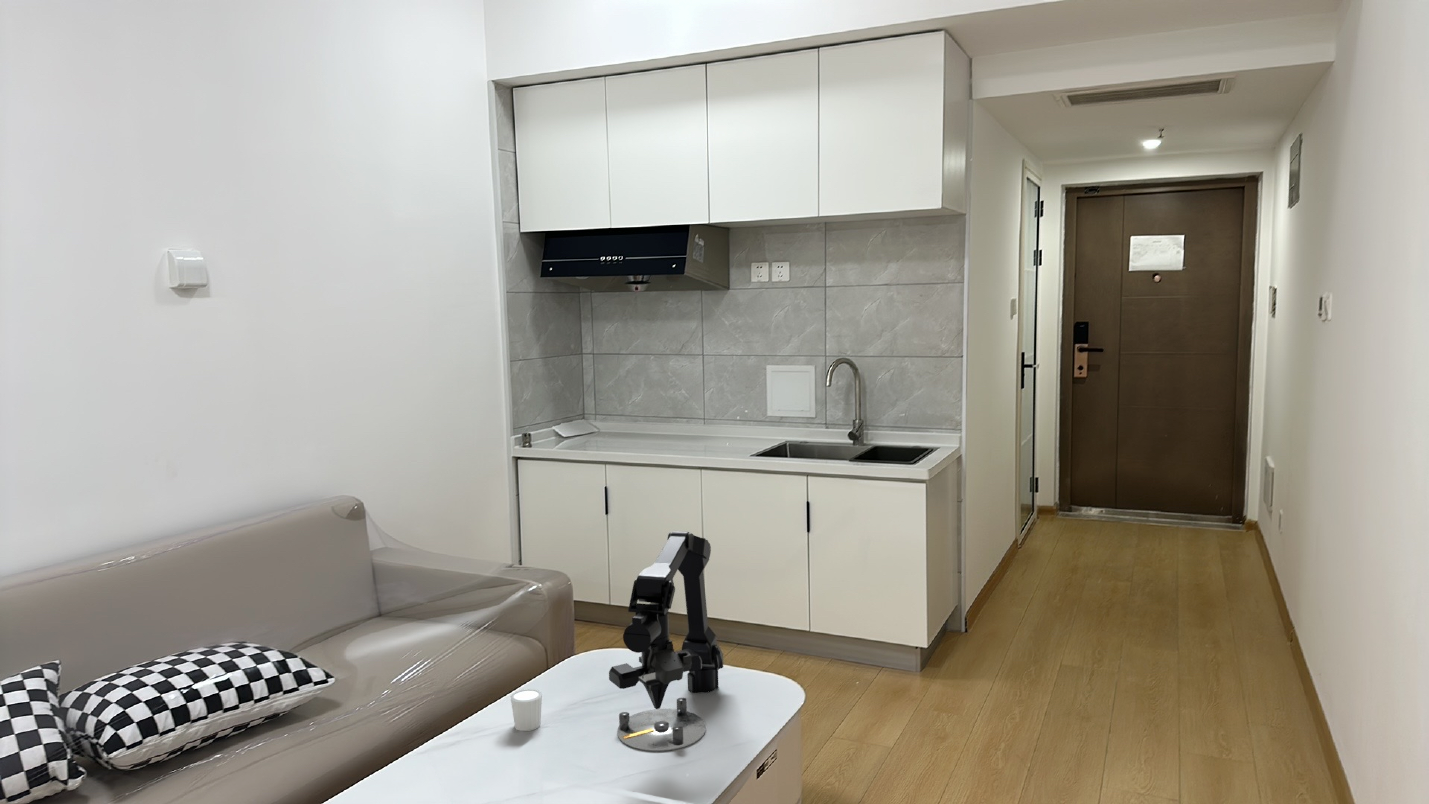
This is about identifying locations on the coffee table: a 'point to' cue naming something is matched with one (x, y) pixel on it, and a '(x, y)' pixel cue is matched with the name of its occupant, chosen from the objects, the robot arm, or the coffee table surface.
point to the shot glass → (526, 709)
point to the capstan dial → (661, 728)
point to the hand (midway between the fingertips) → (657, 708)
